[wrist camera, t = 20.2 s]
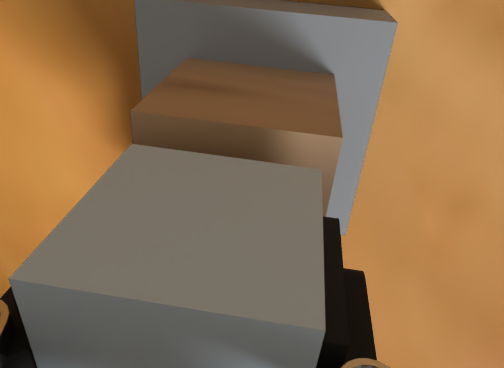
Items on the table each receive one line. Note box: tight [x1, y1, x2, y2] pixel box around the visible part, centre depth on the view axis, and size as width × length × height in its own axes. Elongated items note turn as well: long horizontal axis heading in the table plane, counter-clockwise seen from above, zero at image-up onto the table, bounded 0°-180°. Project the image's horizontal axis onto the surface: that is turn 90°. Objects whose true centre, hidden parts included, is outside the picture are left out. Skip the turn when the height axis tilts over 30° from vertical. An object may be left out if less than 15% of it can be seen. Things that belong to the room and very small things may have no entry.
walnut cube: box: [130, 58, 343, 217], centre depth 15 cm, size 6×6×6 cm
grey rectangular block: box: [134, 0, 398, 235], centre depth 19 cm, size 10×10×3 cm
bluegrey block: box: [9, 144, 326, 368], centre depth 10 cm, size 5×5×5 cm
